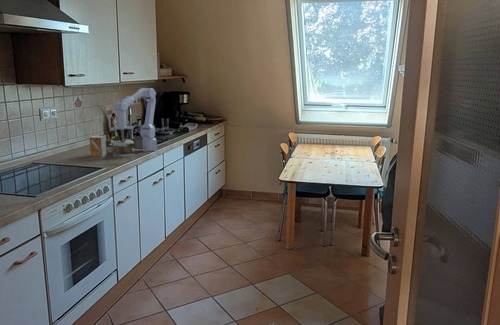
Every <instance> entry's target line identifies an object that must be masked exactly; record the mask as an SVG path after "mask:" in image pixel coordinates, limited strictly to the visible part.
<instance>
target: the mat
mask: <svg viewBox="0 0 500 325" xmlns="http://www.w3.org/2000/svg"><path fill="white" fill-rule="evenodd" d="M112 157H113V159H120V158H131V157H136V155H135V154H134V153H133V152H132V153H130V154H117V155H113V154H112Z"/></svg>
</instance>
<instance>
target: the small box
mask: <svg viewBox="0 0 500 325" xmlns="http://www.w3.org/2000/svg"><path fill="white" fill-rule="evenodd" d="M89 146H90V156H91V157H100V158H103V157H104V156H107V144H106V135H105V136H104V135H93V136H90V137H89Z"/></svg>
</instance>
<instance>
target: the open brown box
mask: <svg viewBox="0 0 500 325" xmlns="http://www.w3.org/2000/svg"><path fill="white" fill-rule="evenodd" d="M110 150H111V154H112V155H117V154H130V153H133V147H131V146H130V145H129V146H118V145H111V149H110Z"/></svg>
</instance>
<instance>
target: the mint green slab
mask: <svg viewBox="0 0 500 325" xmlns="http://www.w3.org/2000/svg"><path fill="white" fill-rule="evenodd" d="M121 138H122V141H120V140H114V141H112V143H113V145H112V146H119V145H121V146H122V145H133V144H135V141H133V140H132V139H128V140H127V139H126V141H125V138H124V136H121Z"/></svg>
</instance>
